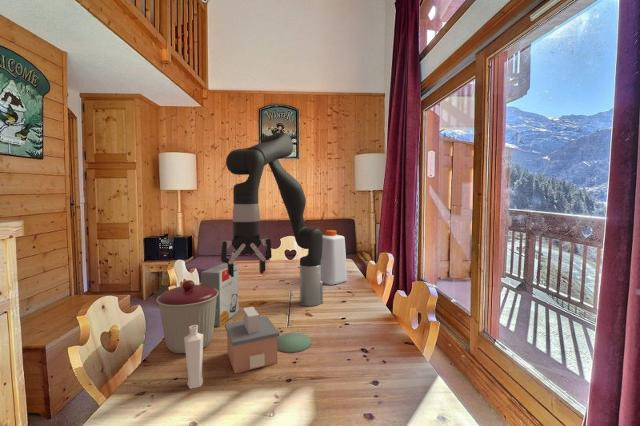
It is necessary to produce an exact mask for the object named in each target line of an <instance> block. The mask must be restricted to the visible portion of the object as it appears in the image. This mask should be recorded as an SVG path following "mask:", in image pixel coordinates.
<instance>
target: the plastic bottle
mask: <svg viewBox="0 0 640 426" xmlns="http://www.w3.org/2000/svg"><path fill="white" fill-rule="evenodd" d="M322 235H323V248H322V259H321V281H322V282H323V284H325V285H328V286H335V284H336V285H339V284H342V283H345V282H347V280H348V268H347V256H346V255H347V254H346V253H347V252H346V240H345V239H346V238H345V236H343V235H340V234H337V230H334V229H329V230H328V229H326V230H325V234H322Z"/></svg>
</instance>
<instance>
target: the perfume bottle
mask: <svg viewBox="0 0 640 426" xmlns="http://www.w3.org/2000/svg"><path fill="white" fill-rule="evenodd" d="M189 328H190V334H189V335H188V336H186V337H184V342H185V351H186V353H185V358H186V368H187V377H188V379H187V386H188V388H189V389H190V390H192V389H195V388H200V387H201V386H202V385H203V382H204V378H203V375H202V374H203V355H204V353H203V352H204V348H203V335H204V334H200V333H198V325H192V326H190V327H189Z"/></svg>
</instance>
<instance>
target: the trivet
mask: <svg viewBox="0 0 640 426" xmlns="http://www.w3.org/2000/svg"><path fill="white" fill-rule="evenodd" d="M311 345H312V339H311V337H310V336H308V335H307V334H304V333H300V332H289V333H284V334H281V335H279V336H278V337H277V351H280V352H282V353H291V354H294V353H300V352H303V351H306V350H307V349H309V348H310V347H311Z"/></svg>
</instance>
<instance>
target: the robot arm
mask: <svg viewBox="0 0 640 426" xmlns="http://www.w3.org/2000/svg"><path fill="white" fill-rule="evenodd" d="M260 141H261V142H260V143H257V144H254V145H252V146H250V147H245V148H237V149H234V150H231V151H230V152H229V153H228V154H227V157H226V159H225V165H226V167H227V170H228V172H230V173H231V174H233V175H235V176H244V175H245V176H247V179H246V180H245V181H243V182H239V183H236V184H235V185H233V189H232V190H233V191H232V196H233V197H232V199H233V207H232V240H226V239H223V240H221V245H220V246H221V247H220V261H221V263H222V264H228V274H229V275H230V276H231V277H234V264H235V263H234V262H235V260H236V259H237V258H238V256H239V255H241V256H245V255H254V254H255V255H256V256H257V257H258V258H259V259H260V260H259V265H258V267H259V268H258V269H259V274H260V275H264V273H265V272H266V261H267V260H271V259H272V256H273V255H272V244H271V243H272V242H271V241H272V240H271V239H270V238H268V237H265V238H263V239H262V238H261V237H260V235H261V233H260V232H261V231H260V219H261V216H260V207H259V190H260V189H259V188H260V183H261V178H262V176H263V173H264V168H265V166H267V165H268V166H269V169H270V171H271V173H272V175H273V177H274V180H275V181H276V183H275V184H276V185H277V188H278V191H279V194H280V197H281V199H282V202H283V205H284V207H285V209H286V213H287V215H288V219H289V220H290V221H289V222H290V224H291V228H292V232H293V236H294V239H295V242H296V245H297V246H298V247H299V248H301V249H307V250H308V251H307V255H305V256H302V257H300V258H299V302H300V305H302V306H305V307H315V306H318V305H321V304H323V302H324V301H323V300H324V299H323V295H324V293H323V291H324V290H323V288H324V286H323V284H324V283H323V282H322V281H321V259H322V248H323V235H324V234H323V233H322V231H321V230H320V229H319V228H315V227H307V225H306V223H305V222H306V221H305V219H304V214H305V213H304V212H305V208H306V204H307V201H306V195H305V193H304V190H303V185H301V183H300V182H299V181H298V180H297V179H296V178H295V177H293V175H291V174H290V173H288V172H287V171H286V170H285V168H284V167H283V166H282V163H280V160H279V159H284V158H287V157H289V156H291V155H293V152H294V144H293V140H292V137H291V136H290V135H289V134H288V133H287V132H278V133H275V134H271V135H267V136H264V137H263V138H261V140H260ZM261 244H262V245H263V246H264V249H265V250H264V251H265V254H264V255H263V253H262V252H261V251H260V249H259V247H260V246H261ZM230 246H232V247H233V249H234V250H233V251H232V252H231V254H230V256H229V257H227V252H228V249H229V248H230Z"/></svg>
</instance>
